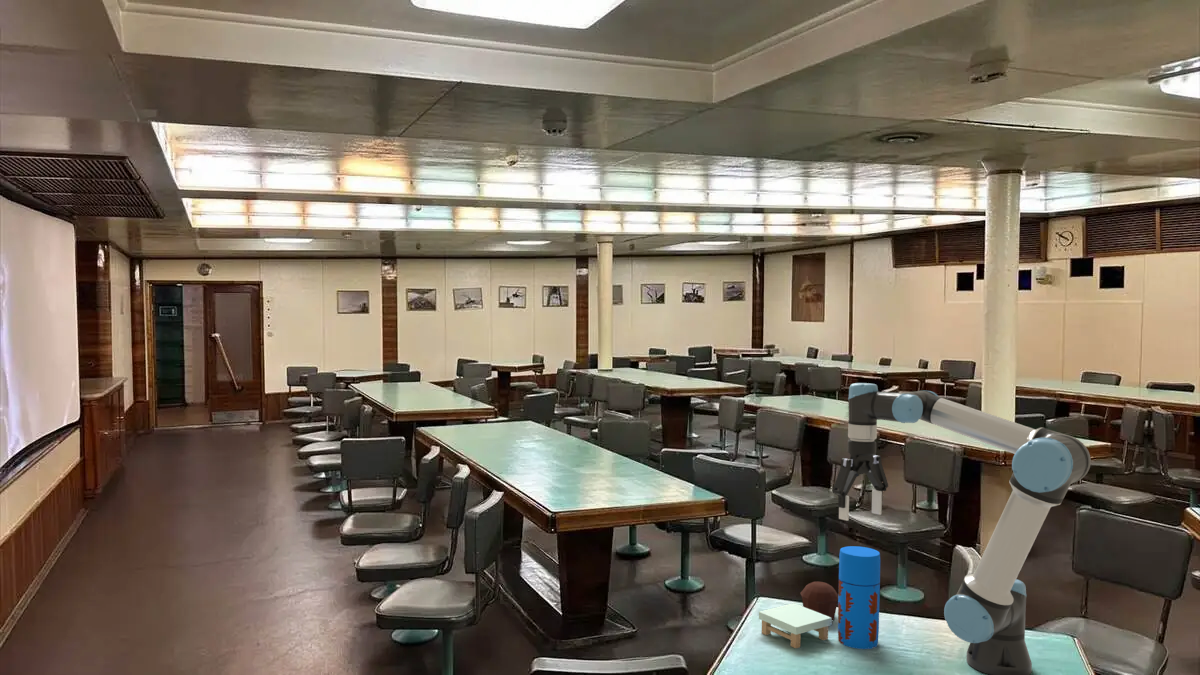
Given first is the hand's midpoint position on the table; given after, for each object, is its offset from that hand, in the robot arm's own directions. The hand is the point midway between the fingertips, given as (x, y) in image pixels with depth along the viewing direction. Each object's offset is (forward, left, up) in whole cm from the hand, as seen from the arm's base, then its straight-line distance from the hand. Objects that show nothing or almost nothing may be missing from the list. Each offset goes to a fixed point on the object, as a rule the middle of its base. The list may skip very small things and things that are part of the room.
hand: (860, 516), depth 229 cm
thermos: (0, 0, -35) cm, 35 cm away
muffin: (+19, -6, -35) cm, 40 cm away
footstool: (+12, +12, -34) cm, 38 cm away
